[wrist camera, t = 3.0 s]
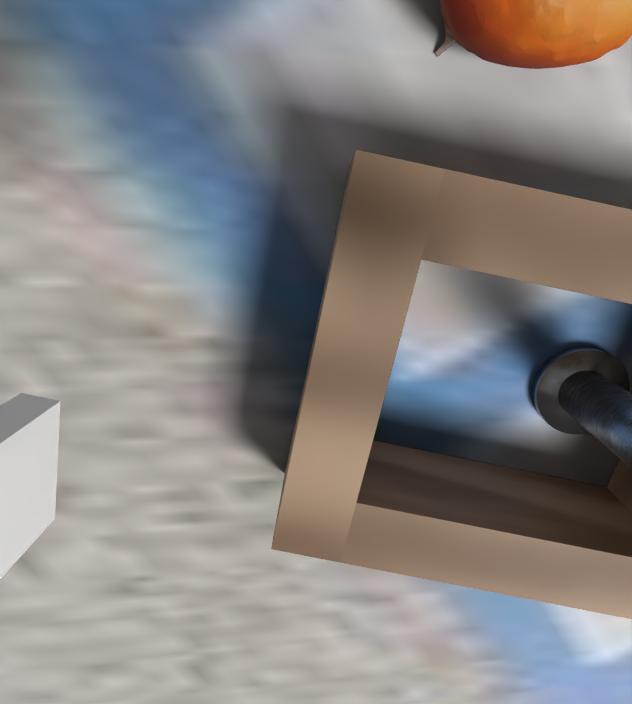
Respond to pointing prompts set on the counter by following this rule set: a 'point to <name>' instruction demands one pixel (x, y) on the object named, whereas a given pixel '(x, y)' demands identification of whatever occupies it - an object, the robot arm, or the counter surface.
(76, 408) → the counter surface
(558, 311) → the counter surface
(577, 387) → the metal post
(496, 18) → the fruit
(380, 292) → the walnut box
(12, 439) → the robot arm
